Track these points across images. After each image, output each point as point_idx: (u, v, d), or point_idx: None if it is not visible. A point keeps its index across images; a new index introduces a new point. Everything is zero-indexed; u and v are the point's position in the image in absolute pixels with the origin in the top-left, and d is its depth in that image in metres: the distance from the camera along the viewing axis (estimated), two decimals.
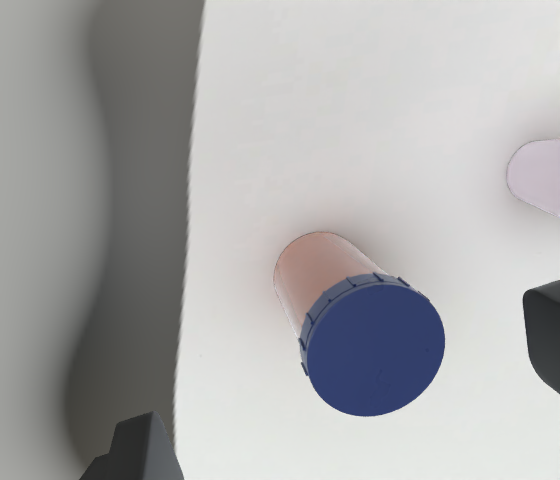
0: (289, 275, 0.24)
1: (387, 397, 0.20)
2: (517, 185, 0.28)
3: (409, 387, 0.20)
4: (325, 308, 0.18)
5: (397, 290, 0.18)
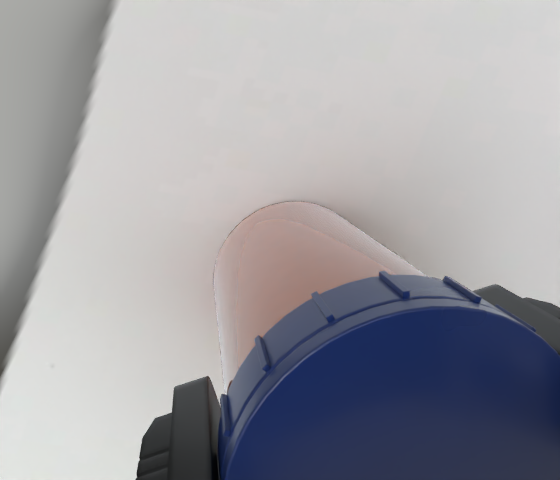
0: (243, 256, 0.12)
1: None
2: None
3: None
4: (314, 337, 0.07)
5: (515, 336, 0.07)
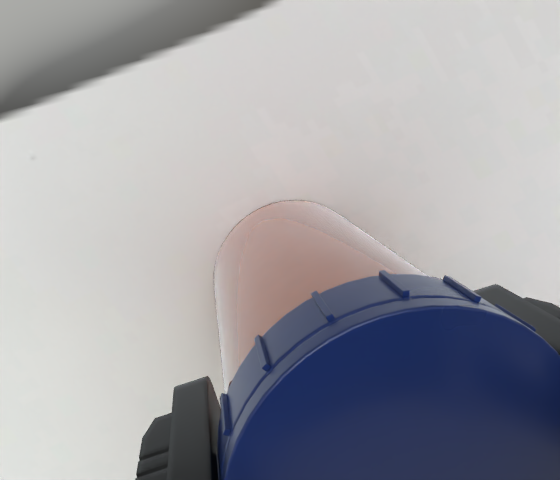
0: (310, 220, 0.13)
1: None
2: None
3: None
4: (314, 336, 0.07)
5: (514, 335, 0.07)
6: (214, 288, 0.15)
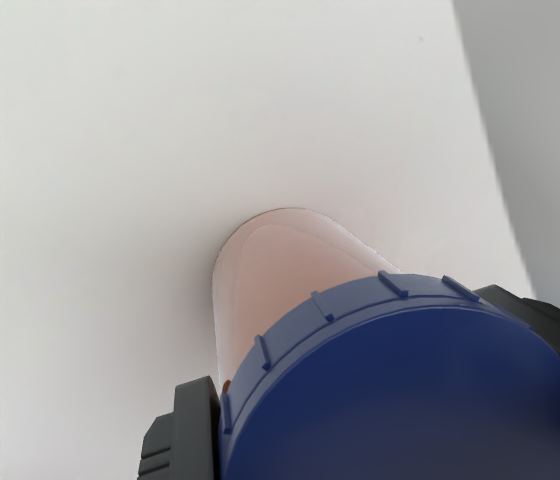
0: None
1: None
2: None
3: None
4: (313, 336, 0.07)
5: (513, 335, 0.07)
6: (292, 212, 0.15)
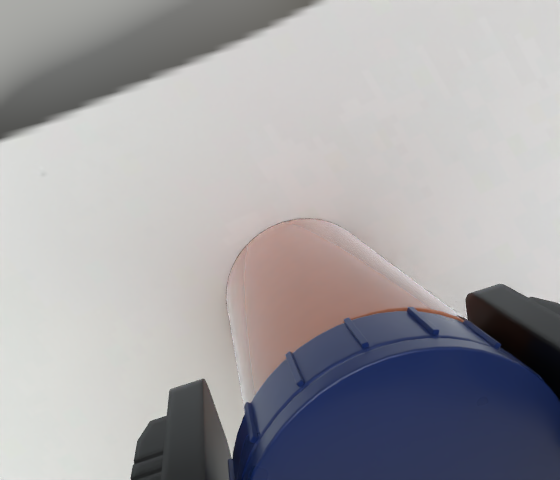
0: (319, 243, 0.13)
1: None
2: None
3: (544, 459, 0.08)
4: None
5: (288, 437, 0.07)
6: (227, 308, 0.16)
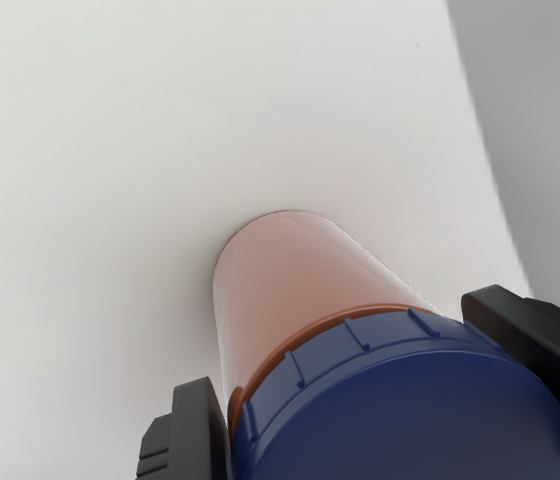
0: None
1: None
2: None
3: (542, 461, 0.08)
4: None
5: (288, 438, 0.07)
6: (289, 216, 0.15)
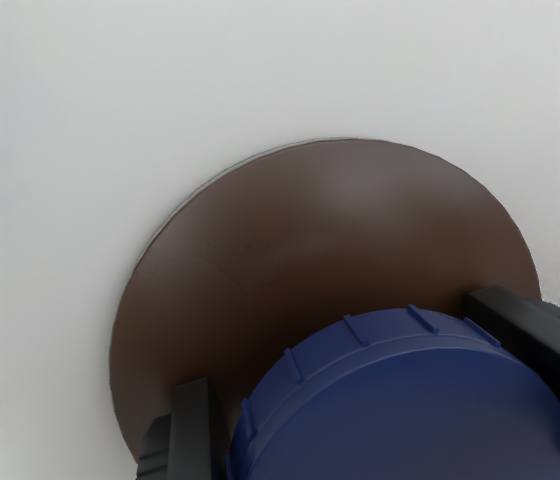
0: None
1: None
2: None
3: (541, 458, 0.08)
4: None
5: (287, 435, 0.07)
6: None
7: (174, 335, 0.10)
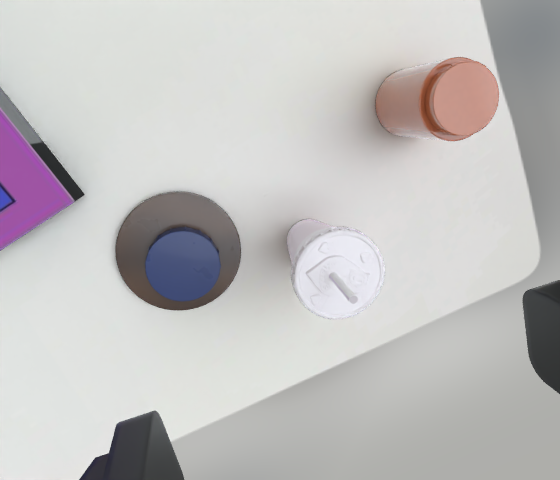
0: None
1: (210, 270, 0.38)
2: None
3: (210, 257, 0.38)
4: None
5: (154, 247, 0.37)
6: None
7: (132, 242, 0.38)
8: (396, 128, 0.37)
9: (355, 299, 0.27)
